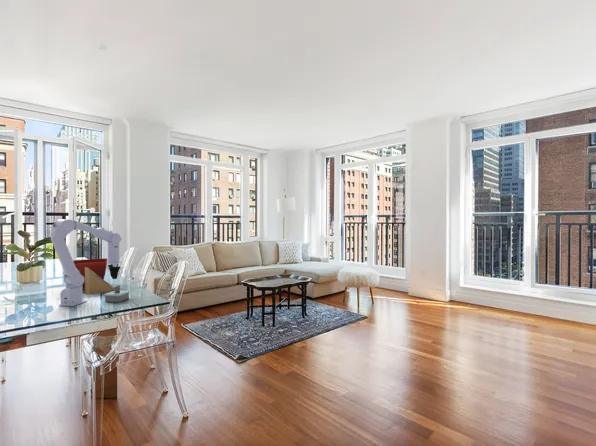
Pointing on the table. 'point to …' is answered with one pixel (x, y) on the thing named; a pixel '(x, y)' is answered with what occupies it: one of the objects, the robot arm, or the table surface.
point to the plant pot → (91, 267)
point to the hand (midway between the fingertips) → (113, 277)
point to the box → (117, 298)
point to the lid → (116, 292)
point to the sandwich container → (95, 283)
